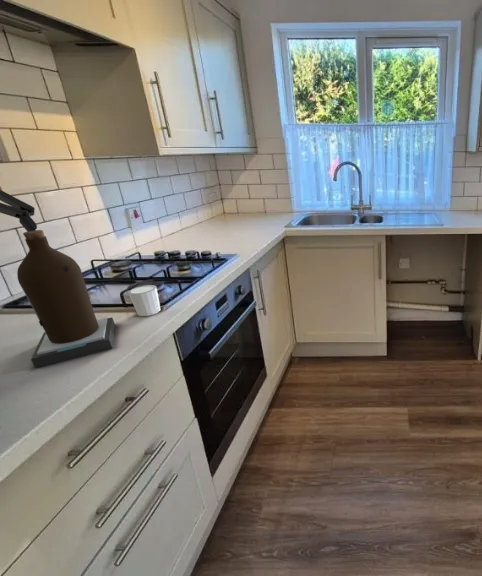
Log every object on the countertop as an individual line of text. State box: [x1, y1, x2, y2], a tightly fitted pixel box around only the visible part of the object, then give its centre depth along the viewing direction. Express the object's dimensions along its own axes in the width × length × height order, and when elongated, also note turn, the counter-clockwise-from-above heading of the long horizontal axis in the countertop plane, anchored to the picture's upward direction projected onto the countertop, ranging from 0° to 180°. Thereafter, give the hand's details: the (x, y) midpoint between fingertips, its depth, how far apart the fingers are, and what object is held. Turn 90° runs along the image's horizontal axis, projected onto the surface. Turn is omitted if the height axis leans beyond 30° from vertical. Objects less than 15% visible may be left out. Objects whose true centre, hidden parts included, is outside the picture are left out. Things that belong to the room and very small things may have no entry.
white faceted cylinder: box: [127, 284, 161, 317], centre depth 102 cm, size 7×7×7 cm
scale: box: [30, 316, 116, 369], centre depth 87 cm, size 14×14×3 cm
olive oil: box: [16, 229, 99, 343], centre depth 82 cm, size 11×11×25 cm
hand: (4, 251), depth 82 cm, fingers open, 13 cm apart
